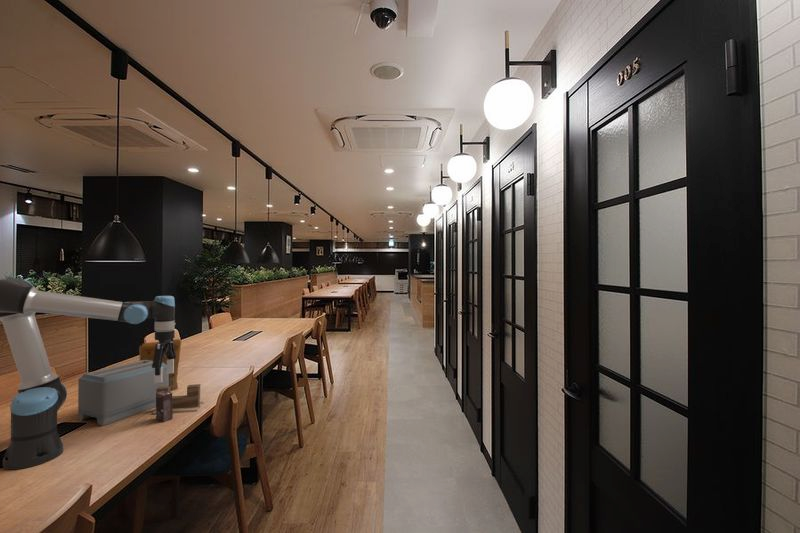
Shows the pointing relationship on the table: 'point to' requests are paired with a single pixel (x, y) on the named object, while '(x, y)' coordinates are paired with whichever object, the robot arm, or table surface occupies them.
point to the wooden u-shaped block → (184, 399)
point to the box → (164, 406)
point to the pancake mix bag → (148, 354)
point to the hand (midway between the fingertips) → (164, 377)
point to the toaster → (119, 391)
